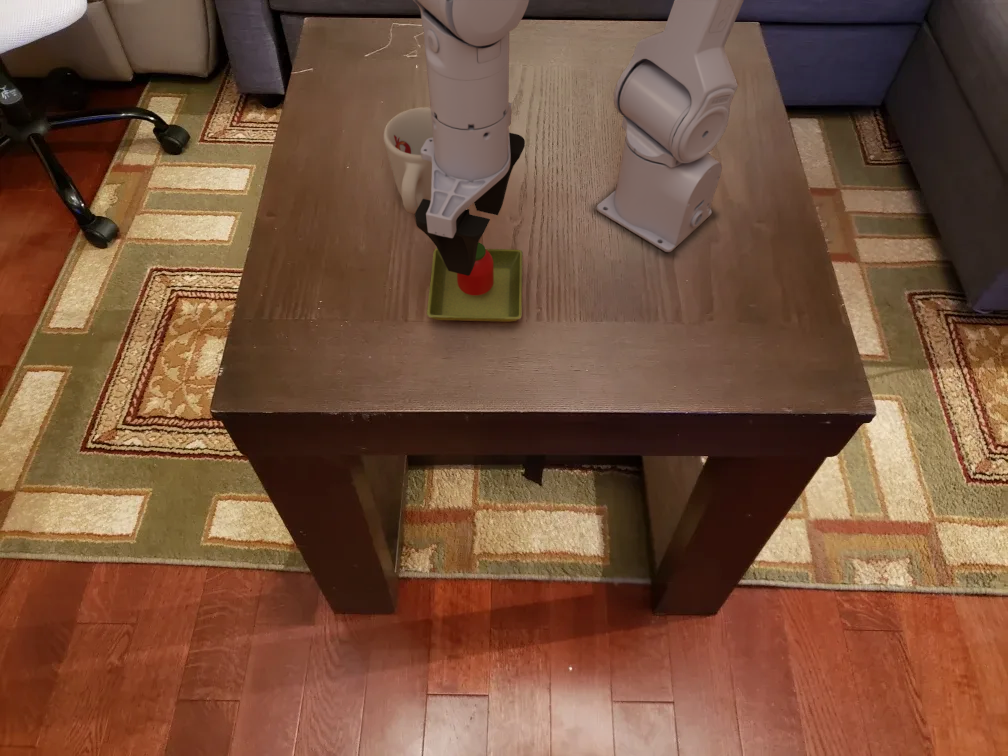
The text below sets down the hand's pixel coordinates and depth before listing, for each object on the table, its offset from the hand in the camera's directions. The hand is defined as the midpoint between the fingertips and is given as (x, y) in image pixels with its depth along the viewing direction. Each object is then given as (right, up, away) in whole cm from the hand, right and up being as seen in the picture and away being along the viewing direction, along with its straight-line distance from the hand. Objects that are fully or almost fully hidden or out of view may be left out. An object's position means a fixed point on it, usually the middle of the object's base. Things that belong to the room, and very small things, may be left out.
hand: (474, 239), depth 65 cm
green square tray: (0, -4, +6) cm, 8 cm away
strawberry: (0, -3, +4) cm, 6 cm away
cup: (-6, +6, +14) cm, 16 cm away
